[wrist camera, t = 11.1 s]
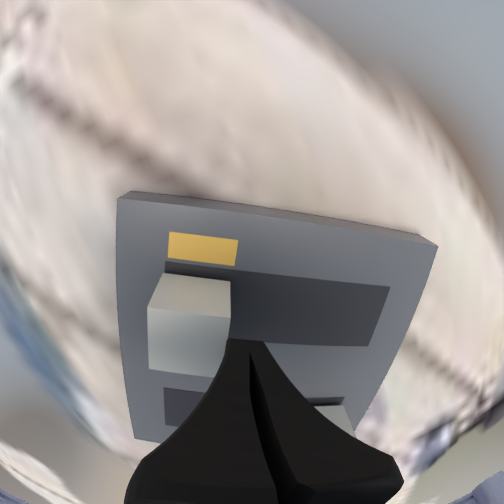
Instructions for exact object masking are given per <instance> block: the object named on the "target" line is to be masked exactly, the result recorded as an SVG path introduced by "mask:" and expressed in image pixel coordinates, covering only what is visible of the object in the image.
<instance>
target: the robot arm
mask: <svg viewBox="0 0 504 504" xmlns="http://www.w3.org/2000/svg"><path fill="white" fill-rule="evenodd" d="M403 483H404V480H403V477H402V475H401V473H400V470H399V468H398V466H397V464H396V462H395V460H394V458H393V457H392V456H390V455H388V454H386V453H384V452H382V451H379V450H377V449H375V448H373V447H371V446H369V445H367V444H365V443H363V442H362V441H360V440H358V439H356V438H355V437H353V436H351V435H350V434H348V433H347V432H345V431H344V430H342V429H341V428H339V427H338V426H337V425H335V424H334V423H333V422H331V421H330V420H329V419H327V418H326V417H325V416H324V415H323V414H321V413H320V412H319V411H318V410H317V409H316V408H315V407H314V406H313V405H312V404H311V403H309V401H308V400H307V399H306V398H305V397H304V396H303V395H302V394H301V393H300V392H299V391H298V389H297V388H296V387H295V386H294V385H293V383H292V382H291V381H290V380H289V378H288V377H287V376H286V374H285V373H284V372H283V370H282V369H281V368H280V366H279V365H278V363H277V362H276V360H275V359H274V357H273V356H272V354H271V353H270V351H269V349H268V348H267V346H266V344H265V343H264V342H263V341H257V340H245V339H235V338H229V339H228V340H226V346H225V353H224V356H223V359H222V362H221V364H220V367H219V369H218V371H217V373H216V375H215V377H214V379H213V381H212V383H211V384H210V386H209V388H208V390H207V391H206V393H205V395H204V396H203V398H202V399H201V400H200V402H199V403H198V405H197V406H196V407H195V409H194V410H193V411H192V412H191V414H190V415H189V416H188V417H187V419H186V420H185V421H184V422H183V423H182V424H181V425H180V426H179V427H178V428H177V429H176V430H175V431H174V432H173V433H172V434H171V435H170V436H169V437H168V438H167V439H166V440H165V441H164V442H163V443H162V444H161V445H159V446H158V447H157V448H156V449H154V450H153V451H152V452H151V453H149V454H148V455H147V456H146V457H144V458H143V459H142V460H141V462H140V464H139V465H138V467H137V468H136V470H135V472H134V474H133V475H132V477H131V479H130V482H129V484H128V487H127V490H126V494H125V499H124V504H385V503H386V502H387V501H389V500H390V499H391V498H392V497H393V496H394V495H395V494H396V493H397V492H398V491H399V490H400V489H401V487H402V485H403ZM0 504H30V503H28V502H26V501H24V500H22V499H20V498H18V497H16V496H14V495H12V494H10V493H8V492H6V491H4V490H3V489H1V488H0ZM449 504H504V472H503V471H499V472H498V473H496V474H494V475H493V476H491V477H489V478H488V479H486V480H485V481H483V482H482V483H481V484H479V485H478V486H477V487H476V488H475V489H474V490H473V491H472V492H471V493H469V494H467V495H465V496H463V497H461V498H459V499H457V500H455V501H454V502H451V503H449Z"/></svg>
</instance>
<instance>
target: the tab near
mask: <svg viewBox="0 0 504 504" xmlns="http://www.w3.org/2000/svg"><path fill="white" fill-rule="evenodd" d="M230 320H231V300H230V281H223V280H215V279H207V278H199V277H191V276H183V275H176V274H168V273H163V274H162V276H161V278H160V280H159V282H158V284H157V287H156V289H155V291H154V293H153V295H152V298H151V300H150V302H149V304H148V306H147V328H148V358H149V369H153V370H159V371H166V372H173V373H180V374H187V375H196V376H204V377H215V375H216V373H217V371H218V369H219V367H220V364H221V362H222V359H223V356H224V353H225V346H226V340H228V333H229V327H230Z"/></svg>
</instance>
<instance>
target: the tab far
mask: <svg viewBox="0 0 504 504" xmlns="http://www.w3.org/2000/svg"><path fill="white" fill-rule="evenodd" d="M314 407H315V408H316V409H317V410H318V411H319V412H320V413H321V414H323V415H324V416H325V417H326V418H327V419H329V420H330V421H331V422H333V423H334V424H335V425H337V426H338V427H339V428H341V429H342V430H344V431H345V432H347V433H348V434H350V435H351V436H353V437H355V438H356V436H355V433H354V431H353V428H352V426H351V423H350V420H349V418H348V415H347V413H346V410H345V408H344V405H339V406H314ZM356 439H357V438H356Z"/></svg>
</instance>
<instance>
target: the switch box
mask: <svg viewBox="0 0 504 504" xmlns="http://www.w3.org/2000/svg"><path fill="white" fill-rule="evenodd" d="M437 249H438V246H437V245H436V244H434V243H432V242H431V241H429V240H427V239H426V238H424V237H422V236H420V235H418V234H413V233H408V232H403V231H398V230H393V229H388V228H383V227H378V226H372V225H367V224H362V223H356V222H351V221H345V220H340V219H334V218H328V217H322V216H316V215H310V214H304V213H298V212H292V211H285V210H279V209H272V208H265V207H259V206H252V205H245V204H237V203H230V202H222V201H215V200H207V199H199V198H191V197H182V196H173V195H164V194H155V193H146V192H136V191H130V192H128V193H126V194H125V195H123V196H121V197H119V198H117V217H116V288H117V309H118V324H119V336H120V347H121V356H122V365H123V373H124V380H125V387H126V394H127V400H128V406H129V412H130V418H131V423H132V428H133V433H134V438H135V439H140V440H145V441H150V442H156V443H163V442H164V441H165V440H166V439H167V438H168V437H169V436H170V435H171V434H172V433H173V432H174V431H175V430H176V429H177V428H178V427H179V426H180V425H181V424H182V423H183V422H184V421H185V420H186V419H187V417H188V416H189V415H190V414H191V412H192V411H193V410H194V409H195V407H196V406H197V405H198V403H199V402H200V400H201V399H202V398H203V396H204V395H205V393H206V391H207V390H208V388H209V386H210V384H211V383H212V381H213V379H214V377H204V376H196V375H187V374H180V373H173V372H166V371H159V370H153V369H149V358H148V328H147V306H148V304H149V302H150V300H151V298H152V295H153V293H154V291H155V289H156V287H157V284H158V282H159V280H160V278H161V276H162V274H163V273H168V274H176V275H183V276H191V277H199V278H207V279H215V280H223V281H230V300H231V320H230V327H229V333H228V339H229V338H235V339H245V340H257V341H263V342H264V343H265V344H266V346H267V348H268V349H269V351H270V353H271V354H272V356H273V357H274V359H275V360H276V362H277V363H278V365H279V366H280V368H281V369H282V370H283V372H284V373H285V374H286V376H287V377H288V378H289V380H290V381H291V382H292V383H293V385H294V386H295V387H296V388H297V389H298V391H299V392H300V393H301V394H302V395H303V396H304V397H305V398H306V399H307V400H308V401H309V403H311V404H312V405H313V406H339V405H344V408H345V410H346V413H347V415H348V418H349V420H350V423H351V426H352V428H353V431H354V430H355V429H356V427H357V426H358V424H359V422H360V421H361V419H362V417H363V416H364V414H365V412H366V411H367V409H368V407H369V406H370V404H371V402H372V400H373V399H374V397H375V395H376V393H377V391H378V389H379V388H380V386H381V384H382V382H383V380H384V378H385V376H386V374H387V372H388V370H389V368H390V366H391V364H392V362H393V360H394V358H395V356H396V354H397V352H398V350H399V348H400V346H401V343H402V341H403V339H404V337H405V334H406V332H407V330H408V328H409V325H410V323H411V321H412V318H413V316H414V313H415V311H416V308H417V306H418V303H419V301H420V298H421V295H422V293H423V290H424V287H425V285H426V282H427V279H428V276H429V273H430V270H431V267H432V264H433V261H434V258H435V255H436V252H437Z"/></svg>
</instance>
